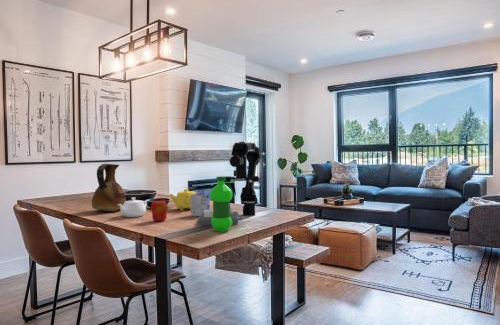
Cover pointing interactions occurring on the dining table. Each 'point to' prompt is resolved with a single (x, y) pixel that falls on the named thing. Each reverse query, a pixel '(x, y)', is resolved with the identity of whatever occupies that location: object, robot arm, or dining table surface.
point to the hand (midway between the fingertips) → (241, 195)
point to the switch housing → (207, 220)
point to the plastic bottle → (221, 205)
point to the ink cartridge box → (199, 203)
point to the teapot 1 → (133, 208)
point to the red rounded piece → (159, 210)
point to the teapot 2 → (183, 199)
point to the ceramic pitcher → (108, 190)
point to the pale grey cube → (208, 213)
